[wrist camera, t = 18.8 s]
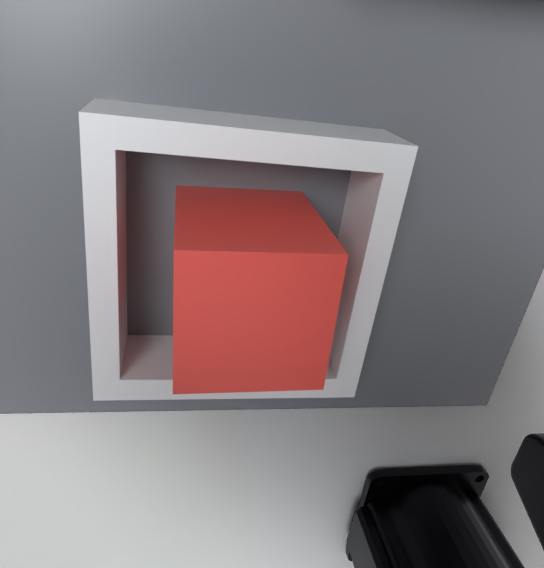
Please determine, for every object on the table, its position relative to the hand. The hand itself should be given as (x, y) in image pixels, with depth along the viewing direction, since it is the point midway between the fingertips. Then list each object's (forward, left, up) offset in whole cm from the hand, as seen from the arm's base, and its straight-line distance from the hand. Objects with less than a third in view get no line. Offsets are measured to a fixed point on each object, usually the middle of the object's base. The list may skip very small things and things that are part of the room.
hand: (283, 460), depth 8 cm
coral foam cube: (0, 0, -9) cm, 9 cm away
